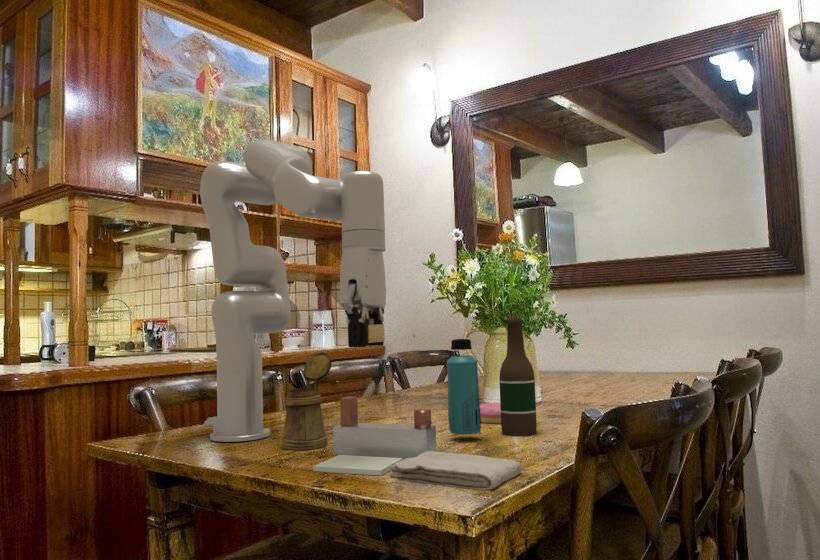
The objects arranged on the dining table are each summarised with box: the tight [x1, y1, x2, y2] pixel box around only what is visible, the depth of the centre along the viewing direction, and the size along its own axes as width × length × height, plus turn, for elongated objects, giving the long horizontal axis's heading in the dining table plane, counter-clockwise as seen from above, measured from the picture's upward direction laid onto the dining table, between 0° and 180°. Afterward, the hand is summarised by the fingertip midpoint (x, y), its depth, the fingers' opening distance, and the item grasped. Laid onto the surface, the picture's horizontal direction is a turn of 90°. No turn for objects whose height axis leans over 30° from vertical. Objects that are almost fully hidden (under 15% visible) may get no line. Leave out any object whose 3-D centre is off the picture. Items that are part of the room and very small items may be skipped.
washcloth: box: [388, 451, 522, 491], centre depth 96 cm, size 12×18×3 cm, turn 58°
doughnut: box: [480, 401, 501, 425], centre depth 148 cm, size 11×11×4 cm
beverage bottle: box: [446, 338, 482, 435], centre depth 127 cm, size 6×7×20 cm
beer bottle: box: [499, 316, 538, 437], centre depth 132 cm, size 8×8×24 cm
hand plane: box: [332, 396, 437, 459], centre depth 114 cm, size 18×5×10 cm, turn 68°
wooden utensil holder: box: [281, 351, 333, 451], centre depth 127 cm, size 9×14×18 cm, turn 162°
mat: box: [312, 455, 404, 476], centre depth 104 cm, size 12×9×1 cm
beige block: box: [364, 318, 386, 343], centre depth 109 cm, size 4×6×4 cm, turn 160°
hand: (366, 345), depth 109 cm, fingers closed on beige block, 6 cm apart
